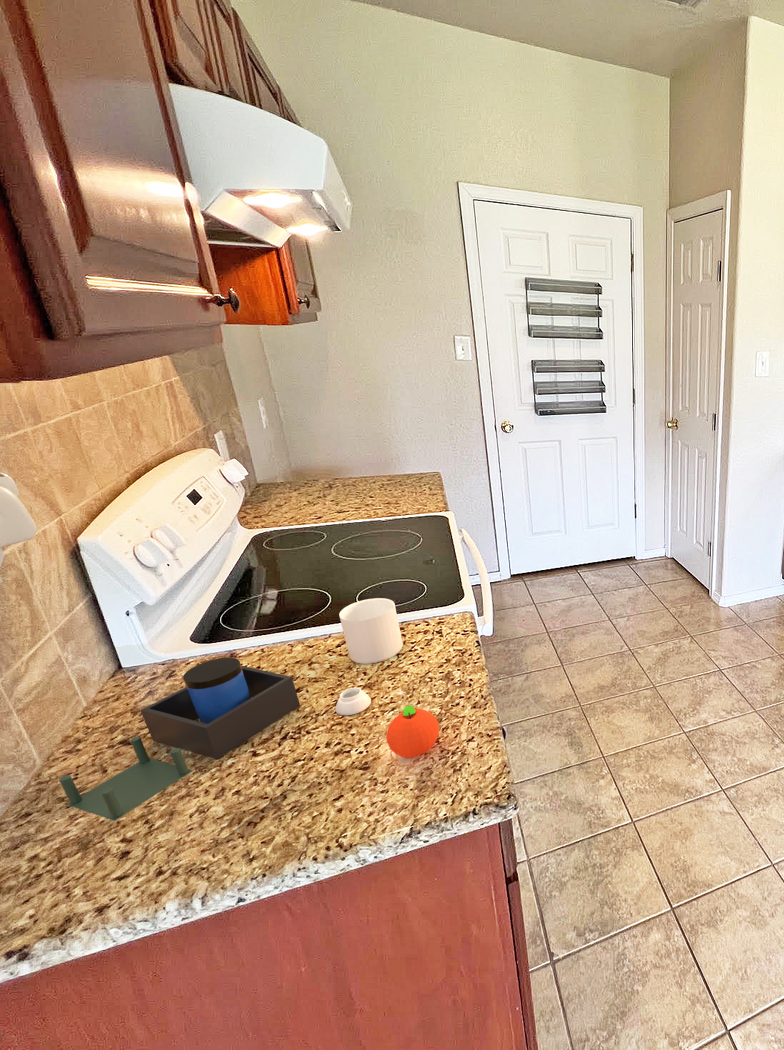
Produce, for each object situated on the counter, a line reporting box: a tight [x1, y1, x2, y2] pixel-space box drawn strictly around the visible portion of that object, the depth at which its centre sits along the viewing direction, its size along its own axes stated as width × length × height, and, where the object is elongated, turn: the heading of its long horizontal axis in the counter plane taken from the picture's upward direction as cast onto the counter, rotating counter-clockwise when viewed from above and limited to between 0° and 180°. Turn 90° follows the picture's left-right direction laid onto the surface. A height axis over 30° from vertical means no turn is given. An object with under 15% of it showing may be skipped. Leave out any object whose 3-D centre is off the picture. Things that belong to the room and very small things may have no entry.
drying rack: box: [58, 736, 194, 822], centre depth 77 cm, size 9×9×5 cm
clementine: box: [386, 704, 440, 758], centre depth 85 cm, size 8×7×7 cm
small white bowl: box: [334, 687, 372, 716], centre depth 95 cm, size 5×3×5 cm
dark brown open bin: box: [139, 664, 301, 760], centre depth 89 cm, size 13×13×7 cm
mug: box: [338, 597, 404, 665], centre depth 110 cm, size 12×9×9 cm
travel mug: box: [182, 657, 252, 724], centre depth 88 cm, size 7×7×10 cm
